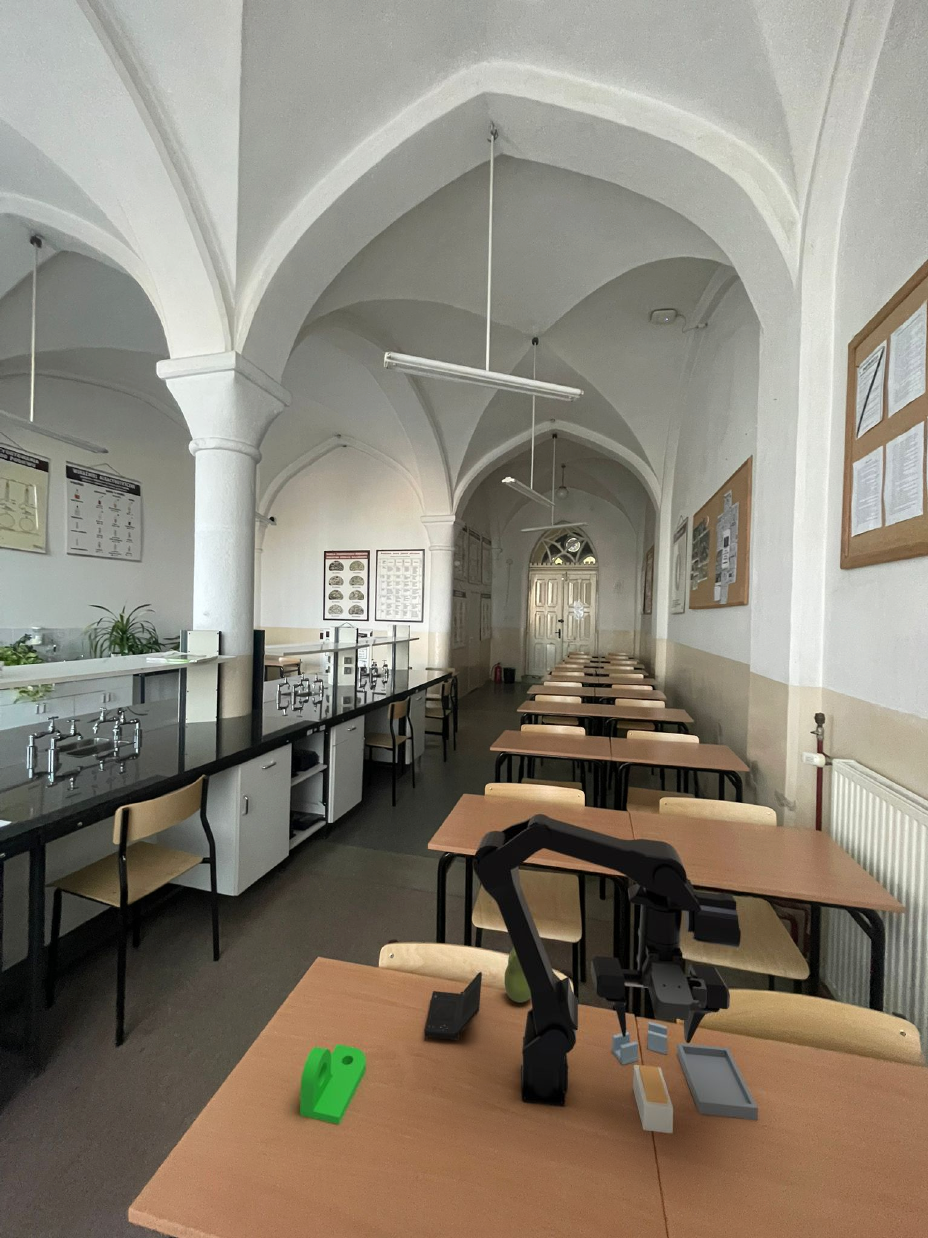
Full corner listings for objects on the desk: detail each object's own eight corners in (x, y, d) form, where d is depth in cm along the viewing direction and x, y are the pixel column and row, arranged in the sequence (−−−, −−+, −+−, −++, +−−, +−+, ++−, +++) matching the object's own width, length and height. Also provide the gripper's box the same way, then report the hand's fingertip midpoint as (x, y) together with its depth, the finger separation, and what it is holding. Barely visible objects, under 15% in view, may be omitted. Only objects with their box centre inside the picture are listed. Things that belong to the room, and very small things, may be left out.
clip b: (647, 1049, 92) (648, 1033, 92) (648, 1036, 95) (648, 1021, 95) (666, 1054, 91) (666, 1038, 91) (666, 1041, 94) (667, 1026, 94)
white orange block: (643, 1133, 77) (644, 1101, 77) (633, 1090, 84) (633, 1061, 84) (672, 1136, 77) (673, 1104, 77) (659, 1093, 84) (660, 1064, 84)
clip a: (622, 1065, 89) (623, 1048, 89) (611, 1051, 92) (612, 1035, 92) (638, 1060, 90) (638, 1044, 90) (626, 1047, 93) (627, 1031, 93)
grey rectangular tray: (699, 1114, 80) (699, 1102, 80) (677, 1053, 91) (677, 1043, 91) (757, 1120, 80) (757, 1108, 80) (727, 1058, 91) (728, 1048, 91)
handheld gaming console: (421, 987, 103) (456, 948, 103) (450, 1008, 104) (485, 970, 104) (421, 1040, 92) (459, 997, 91) (453, 1064, 93) (491, 1021, 92)
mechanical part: (338, 1131, 76) (340, 1075, 76) (299, 1122, 78) (301, 1066, 78) (371, 1063, 88) (372, 1014, 88) (336, 1056, 90) (338, 1008, 89)
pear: (529, 988, 107) (531, 937, 107) (536, 1008, 101) (538, 954, 101) (501, 990, 106) (503, 939, 106) (507, 1010, 101) (508, 956, 101)
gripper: (606, 962, 73) (600, 1077, 73) (749, 975, 72) (744, 1092, 72) (592, 916, 84) (588, 1016, 84) (716, 927, 83) (711, 1028, 83)
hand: (655, 1038), depth 81 cm, fingers open, 9 cm apart
